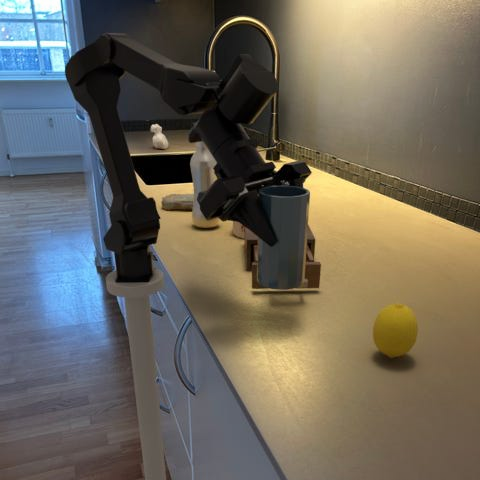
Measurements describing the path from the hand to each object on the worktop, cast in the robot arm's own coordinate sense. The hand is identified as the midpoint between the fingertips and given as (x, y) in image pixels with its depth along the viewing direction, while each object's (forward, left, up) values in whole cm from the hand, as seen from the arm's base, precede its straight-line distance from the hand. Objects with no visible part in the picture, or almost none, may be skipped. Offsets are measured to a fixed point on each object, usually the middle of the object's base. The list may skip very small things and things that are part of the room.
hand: (290, 238), depth 71 cm
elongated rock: (-9, +68, -13) cm, 70 cm away
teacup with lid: (-2, +45, -13) cm, 47 cm away
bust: (-39, +169, -13) cm, 174 cm away
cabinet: (+1, +29, -13) cm, 32 cm away
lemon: (+13, -10, -13) cm, 21 cm away
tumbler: (-1, +1, -7) cm, 7 cm away
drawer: (+1, +16, -12) cm, 20 cm away
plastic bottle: (-14, +50, -13) cm, 54 cm away
